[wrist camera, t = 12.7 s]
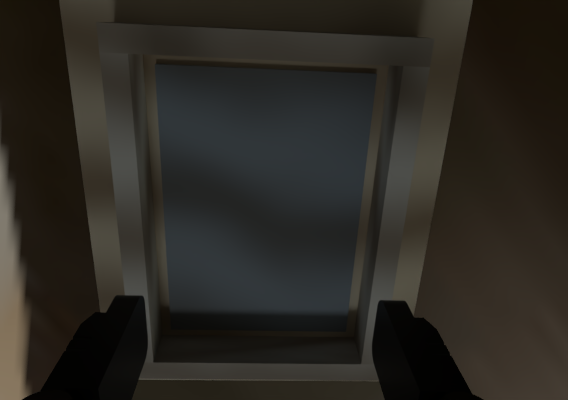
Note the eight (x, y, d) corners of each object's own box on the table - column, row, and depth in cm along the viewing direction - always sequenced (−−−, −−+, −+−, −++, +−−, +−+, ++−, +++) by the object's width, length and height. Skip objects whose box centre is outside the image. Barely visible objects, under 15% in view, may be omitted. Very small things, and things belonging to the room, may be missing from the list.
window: (65, -36, 17) (27, -47, 15) (465, -14, 18) (500, -21, 15) (115, 365, 25) (96, 409, 22) (396, 368, 26) (412, 410, 23)
